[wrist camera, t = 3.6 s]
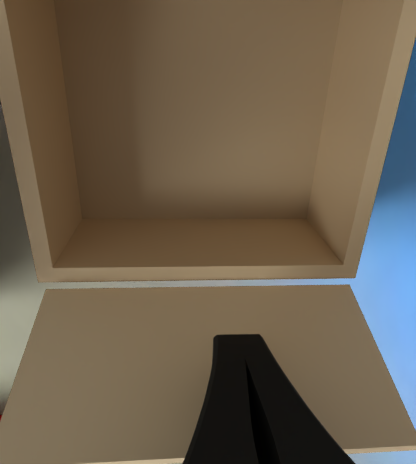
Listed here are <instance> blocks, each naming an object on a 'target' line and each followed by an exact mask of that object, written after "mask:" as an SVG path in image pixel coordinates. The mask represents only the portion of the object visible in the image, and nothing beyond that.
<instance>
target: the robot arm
mask: <svg viewBox="0 0 416 464" xmlns="http://www.w3.org/2000/svg"><path fill="white" fill-rule="evenodd" d="M183 464H355V463H354V462H353V461H352V459H351V458H350V457H349V456H348V455H347V454H346V453H345V452H344V450H343V449H342V448H341V447H340V446H339V445H338V443H337V442H336V441H335V440H334V439H333V438H332V436H331V435H330V434H329V433H328V431H327V430H326V429H325V428H324V426H323V425H322V424H321V423H320V421H319V420H318V419H317V418H316V416H315V415H314V414H313V412H312V411H311V410H310V408H309V407H308V406H307V405H306V403H305V402H304V400H303V399H302V398H301V396H300V395H299V393H298V392H297V391H296V389H295V388H294V386H293V385H292V384H291V382H290V381H289V379H288V378H287V376H286V375H285V373H284V372H283V370H282V369H281V367H280V366H279V364H278V362H277V361H276V359H275V358H274V356H273V354H272V353H271V351H270V349H269V348H268V346H267V344H266V342H265V341H264V339H263V337H262V336H261V335H260V334H221V335H216V336H215V337H214V338H213V356H212V368H211V373H210V378H209V382H208V386H207V390H206V395H205V399H204V402H203V406H202V409H201V412H200V415H199V418H198V422H197V425H196V428H195V431H194V434H193V437H192V440H191V443H190V445H189V448H188V451H187V453H186V456H185V459H184V461H183Z"/></svg>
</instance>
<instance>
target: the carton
mask: <svg viewBox="0 0 416 464" xmlns="http://www.w3.org/2000/svg"><path fill="white" fill-rule="evenodd" d="M415 38H416V0H0V100H1V105H2V110H3V115H4V120H5V124H6V129H7V134H8V139H9V144H10V149H11V153H12V158H13V163H14V168H15V173H16V178H17V182H18V187H19V192H20V197H21V202H22V207H23V212H24V216H25V221H26V226H27V231H28V236H29V241H30V245H31V250H32V255H33V260H34V265H35V270H36V275H37V279H38V282H104V281H179V280H254V279H329V278H355V277H356V273H357V269H358V265H359V261H360V257H361V253H362V249H363V245H364V241H365V237H366V233H367V229H368V225H369V221H370V217H371V213H372V209H373V205H374V201H375V197H376V193H377V189H378V185H379V181H380V177H381V173H382V169H383V165H384V161H385V157H386V153H387V149H388V145H389V141H390V137H391V133H392V129H393V125H394V121H395V117H396V113H397V109H398V105H399V101H400V97H401V93H402V89H403V85H404V81H405V77H406V73H407V69H408V65H409V61H410V57H411V53H412V49H413V45H414V42H415Z"/></svg>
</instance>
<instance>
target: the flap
mask: <svg viewBox="0 0 416 464" xmlns="http://www.w3.org/2000/svg"><path fill="white" fill-rule="evenodd" d="M221 334H260V335H261V336H262V337H263V339H264V341H265V342H266V344H267V346H268V348H269V349H270V351H271V353H272V354H273V356H274V358H275V359H276V361H277V362H278V364H279V366H280V367H281V369H282V370H283V372H284V373H285V375H286V376H287V378H288V379H289V381H290V382H291V384H292V385H293V386H294V388H295V389H296V391H297V392H298V393H299V395H300V396H301V398H302V399H303V400H304V402H305V403H306V405H307V406H308V407H309V408H310V410H311V411H312V412H313V414H314V415H315V416H316V418H317V419H318V420H319V421H320V423H321V424H322V425H323V426H324V428H325V429H326V430H327V431H328V433H329V434H330V435H331V436H332V438H333V439H334V440H335V441H336V442H337V443H338V445H339V446H340V447H341V448H342V449H343V450H344V452H345V453H346V454H354V453H372V452H391V451H409V450H416V431H415V429H414V426H413V424H412V422H411V420H410V417H409V415H408V413H407V411H406V409H405V406H404V404H403V402H402V400H401V398H400V395H399V393H398V391H397V389H396V387H395V384H394V382H393V380H392V378H391V375H390V373H389V371H388V369H387V367H386V364H385V362H384V360H383V358H382V356H381V353H380V351H379V349H378V347H377V345H376V342H375V340H374V338H373V336H372V333H371V331H370V329H369V327H368V325H367V322H366V320H365V318H364V316H363V314H362V311H361V309H360V307H359V305H358V302H357V300H356V298H355V296H354V294H353V291H352V289H351V287H350V285H292V286H225V287H157V288H90V289H46V290H45V293H44V296H43V299H42V302H41V305H40V308H39V311H38V313H37V316H36V319H35V322H34V325H33V328H32V331H31V334H30V337H29V339H28V342H27V345H26V348H25V351H24V354H23V357H22V360H21V363H20V366H19V368H18V371H17V374H16V377H15V380H14V383H13V386H12V389H11V392H10V394H9V397H8V400H7V403H6V406H5V409H4V412H3V415H2V418H1V421H0V464H171V463H183V461H184V459H185V456H186V453H187V451H188V448H189V445H190V443H191V440H192V437H193V434H194V431H195V428H196V425H197V422H198V418H199V415H200V412H201V409H202V406H203V402H204V399H205V395H206V390H207V386H208V382H209V378H210V373H211V368H212V356H213V338H214V337H215V336H216V335H221Z"/></svg>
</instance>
